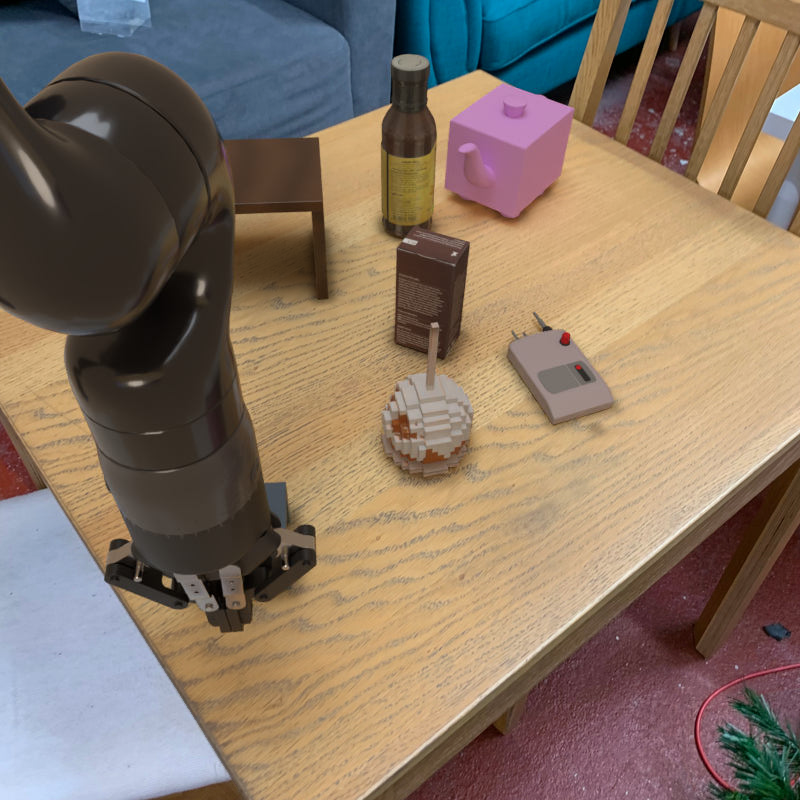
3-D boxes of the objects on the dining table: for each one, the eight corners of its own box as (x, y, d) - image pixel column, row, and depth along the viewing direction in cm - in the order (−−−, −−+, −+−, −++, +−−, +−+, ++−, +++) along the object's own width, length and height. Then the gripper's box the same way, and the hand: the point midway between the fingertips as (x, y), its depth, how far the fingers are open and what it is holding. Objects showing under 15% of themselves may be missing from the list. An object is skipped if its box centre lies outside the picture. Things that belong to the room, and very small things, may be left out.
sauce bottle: (442, 228, 93) (456, 66, 78) (402, 247, 90) (408, 82, 75) (409, 203, 96) (416, 43, 81) (369, 221, 93) (369, 58, 78)
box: (461, 333, 80) (472, 240, 71) (444, 361, 78) (454, 267, 69) (409, 316, 82) (413, 223, 73) (391, 342, 79) (394, 249, 70)
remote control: (562, 439, 71) (568, 418, 69) (488, 331, 81) (492, 309, 79) (622, 420, 73) (630, 400, 71) (543, 316, 83) (548, 295, 80)
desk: (179, 305, 82) (154, 206, 73) (188, 238, 90) (167, 140, 81) (328, 298, 84) (323, 200, 74) (324, 232, 91) (318, 136, 82)
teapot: (501, 152, 105) (514, 61, 95) (567, 177, 101) (587, 85, 92) (417, 219, 94) (423, 124, 84) (487, 251, 90) (501, 154, 81)
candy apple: (374, 419, 72) (375, 299, 61) (453, 407, 74) (468, 286, 62) (392, 485, 67) (397, 367, 56) (477, 471, 69) (497, 352, 57)
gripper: (313, 406, 42) (327, 563, 55) (67, 421, 41) (140, 578, 54) (317, 521, 37) (332, 664, 50) (38, 542, 36) (127, 682, 49)
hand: (233, 619), depth 52 cm, fingers closed
